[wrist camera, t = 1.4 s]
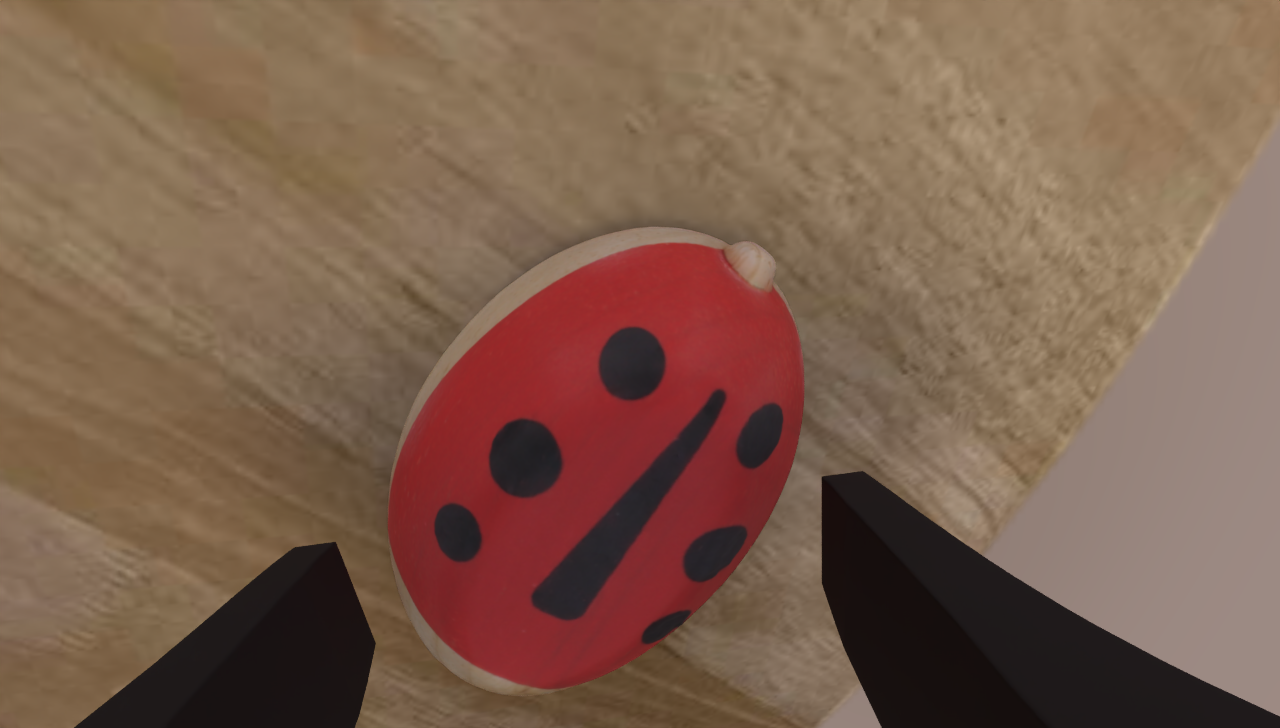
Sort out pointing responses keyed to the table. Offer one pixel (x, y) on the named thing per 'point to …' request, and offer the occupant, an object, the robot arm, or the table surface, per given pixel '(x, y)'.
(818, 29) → the table surface
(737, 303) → the ladybug figurine
